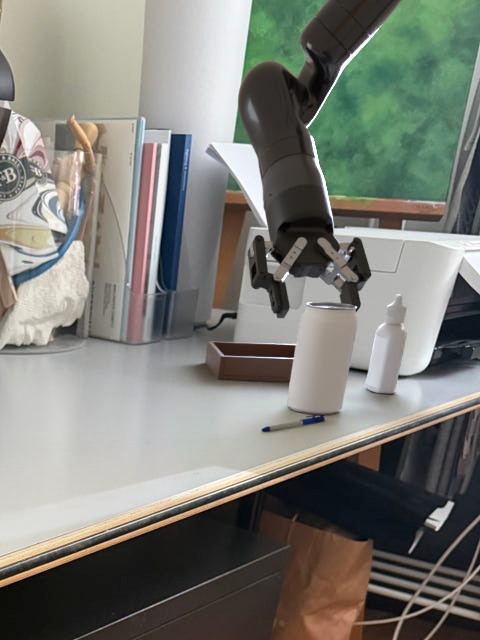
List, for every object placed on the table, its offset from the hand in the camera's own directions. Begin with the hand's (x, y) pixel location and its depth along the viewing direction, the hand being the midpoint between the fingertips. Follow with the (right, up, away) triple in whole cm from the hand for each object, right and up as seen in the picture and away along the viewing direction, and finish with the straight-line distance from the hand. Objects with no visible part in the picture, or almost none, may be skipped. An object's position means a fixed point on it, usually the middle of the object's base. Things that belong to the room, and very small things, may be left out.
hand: (318, 314), depth 112 cm
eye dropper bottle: (+13, -6, +13) cm, 19 cm away
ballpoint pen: (-5, -15, -5) cm, 17 cm away
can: (0, -11, +2) cm, 11 cm away
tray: (-1, -1, +22) cm, 22 cm away
